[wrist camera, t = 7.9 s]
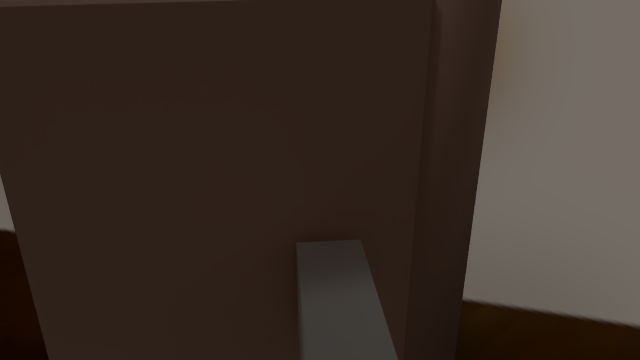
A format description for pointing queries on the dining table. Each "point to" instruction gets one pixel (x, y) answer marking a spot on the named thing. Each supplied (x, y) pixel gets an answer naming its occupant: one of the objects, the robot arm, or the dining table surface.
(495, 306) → the dining table surface
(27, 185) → the gate panel
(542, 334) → the dining table surface
